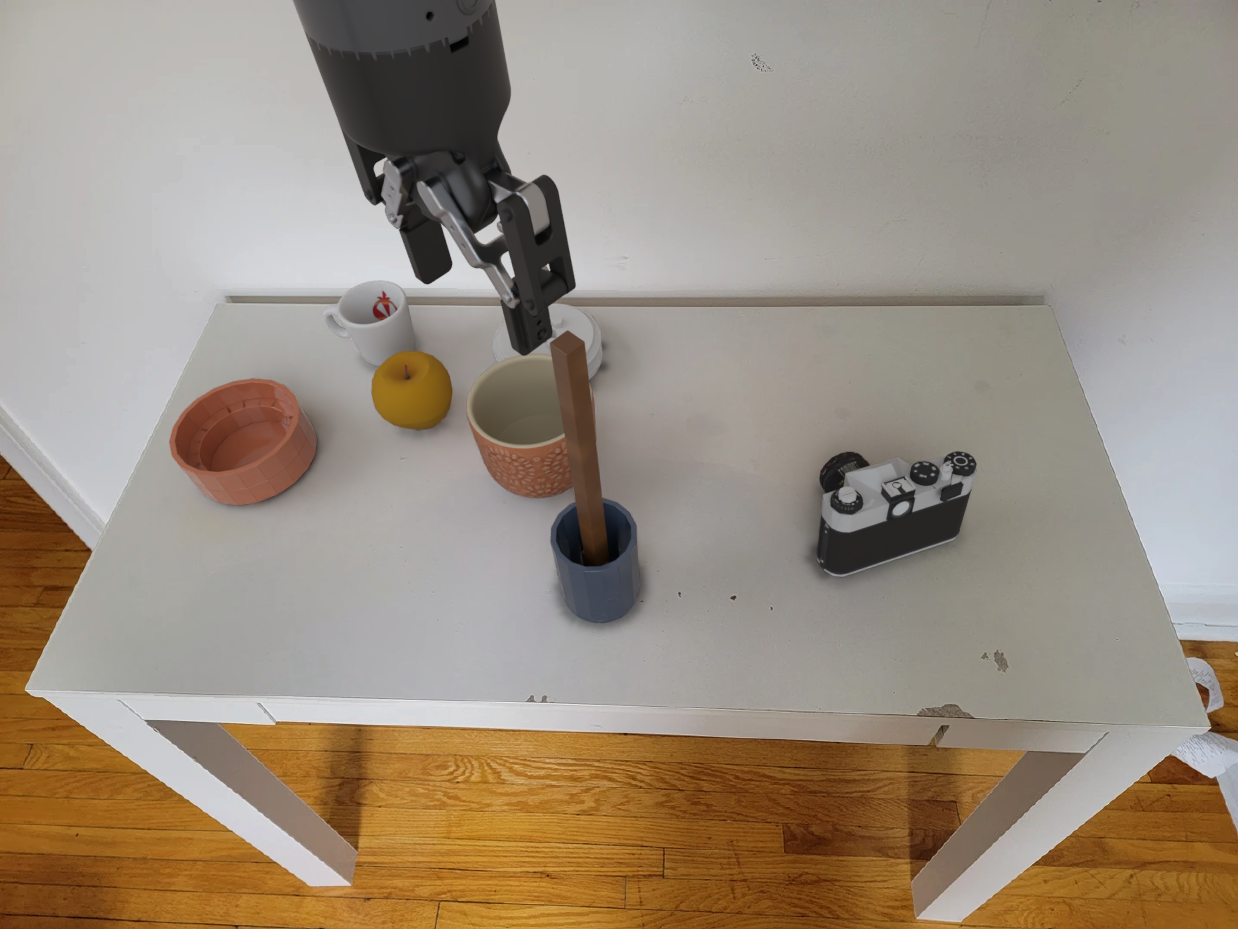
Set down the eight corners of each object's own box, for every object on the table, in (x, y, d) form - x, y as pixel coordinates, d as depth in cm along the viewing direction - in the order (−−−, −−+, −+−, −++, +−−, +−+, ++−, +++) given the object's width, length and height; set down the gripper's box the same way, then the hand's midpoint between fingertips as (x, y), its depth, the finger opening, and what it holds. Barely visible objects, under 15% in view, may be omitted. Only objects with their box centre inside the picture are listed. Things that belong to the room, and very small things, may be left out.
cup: (326, 370, 93) (301, 321, 86) (351, 325, 97) (328, 275, 91) (411, 378, 91) (392, 329, 85) (431, 332, 96) (415, 281, 90)
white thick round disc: (483, 345, 94) (475, 314, 90) (578, 312, 97) (574, 281, 93) (519, 415, 87) (512, 385, 83) (620, 378, 90) (618, 347, 86)
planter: (462, 480, 82) (438, 413, 73) (533, 405, 88) (519, 335, 79) (554, 533, 77) (540, 469, 69) (623, 451, 83) (618, 382, 75)
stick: (606, 600, 72) (575, 361, 46) (583, 580, 73) (540, 336, 48) (618, 589, 73) (594, 347, 47) (595, 569, 74) (558, 323, 48)
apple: (396, 459, 84) (371, 406, 77) (378, 407, 89) (353, 352, 82) (470, 432, 86) (453, 378, 79) (448, 382, 91) (430, 327, 84)
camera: (908, 472, 81) (923, 398, 75) (972, 543, 74) (996, 467, 67) (782, 512, 79) (786, 439, 72) (834, 589, 71) (844, 516, 65)
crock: (600, 638, 70) (592, 588, 62) (546, 589, 74) (532, 534, 66) (655, 586, 73) (654, 531, 65) (601, 540, 77) (594, 483, 69)
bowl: (234, 531, 79) (206, 498, 75) (176, 461, 85) (147, 427, 81) (342, 456, 85) (322, 421, 80) (280, 396, 91) (259, 360, 86)
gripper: (220, -18, 31) (355, 287, 45) (429, 97, 25) (515, 413, 38) (371, -79, 34) (456, 224, 47) (593, 10, 28) (620, 332, 41)
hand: (482, 308), depth 43 cm, fingers open, 8 cm apart
